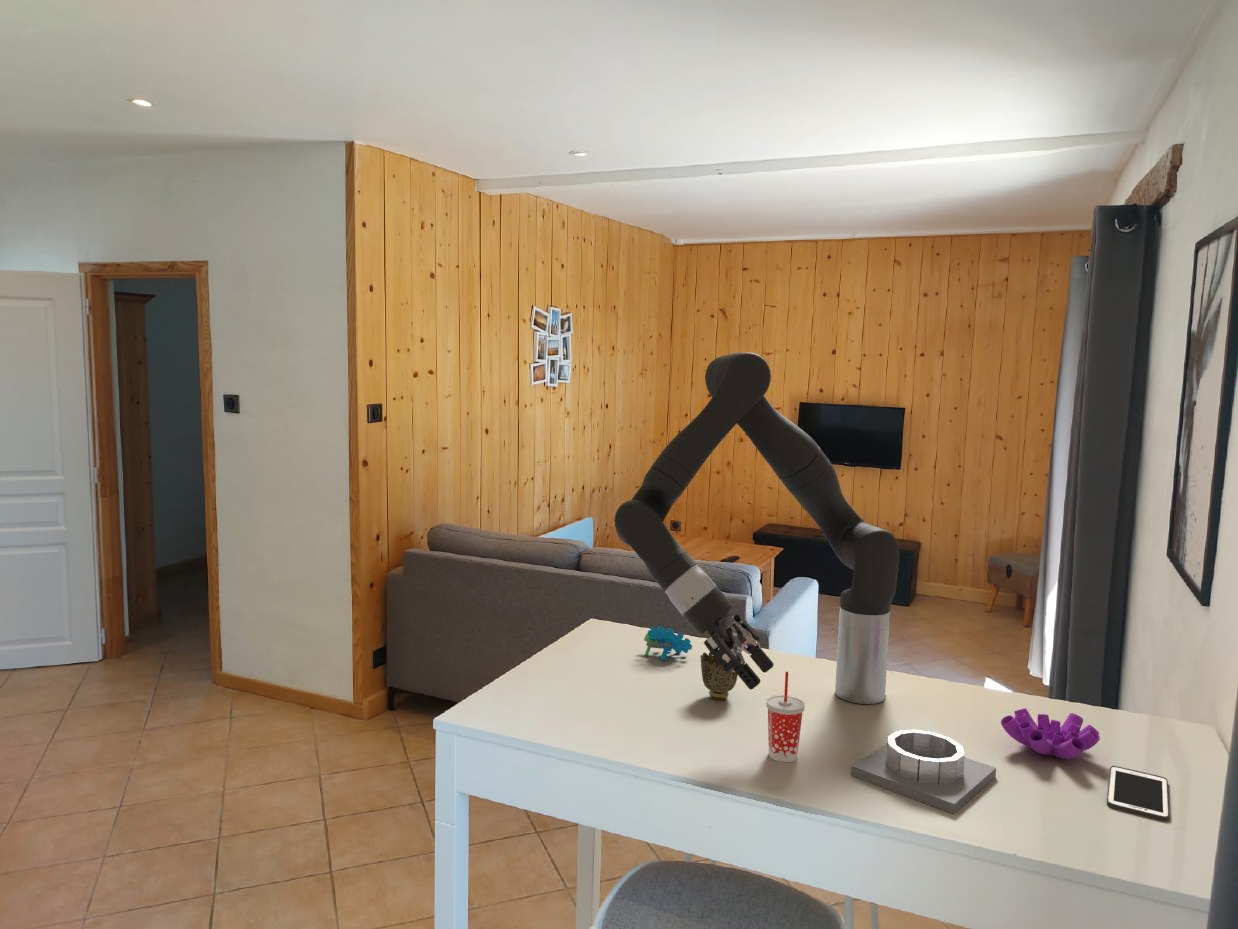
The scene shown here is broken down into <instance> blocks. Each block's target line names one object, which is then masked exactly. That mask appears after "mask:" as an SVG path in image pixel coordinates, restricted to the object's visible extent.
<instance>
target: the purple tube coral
mask: <svg viewBox="0 0 1238 929" xmlns="http://www.w3.org/2000/svg"><path fill="white" fill-rule="evenodd" d="M1013 713H1014V716H1013V715H1006V716H1004V717H1003V718H1002V719H1000V725H1001V727H1002V728H1003V730H1005V732H1006V733H1007V735H1009V737H1011V738H1012V739H1013V740H1015V741H1016V742H1018V743H1019V744H1021V745H1024V746H1025V747H1028V748H1030V749H1033V750H1034V751H1035V752H1036V753H1038V754H1041V755H1044V756H1045V755H1046V756H1053V757H1056V758H1061V759H1067V760H1072V759H1076V758H1078V757H1080V756H1081V755H1082V753H1083V752H1085V751H1088V750H1090V749H1091V748H1092V747H1094V746H1095V745H1097V744H1098V743H1099V742H1100V740H1101V736H1100V732H1099V731H1098V729H1096V728H1095V727H1093V725H1090V724H1088V725H1086V726H1085V727H1084V728H1082V726H1083V724H1084V718H1083V717H1081V716H1080V715H1078V714H1076V713H1073V712H1070V713H1069V715H1068V716H1067V717H1066V719H1065V721H1063V723H1062V725H1061V721H1060V720H1056V719H1051V720H1050V716H1049V714H1047V713H1045V714H1043V713H1038V714H1037V722H1035V720H1034V719H1033V717H1032V716H1031V714H1030V711H1028V709H1027V707H1025V708H1024V707H1023V708H1021V709H1018V710H1017V709H1016V710H1014V712H1013ZM1081 728H1082V729H1081Z"/></svg>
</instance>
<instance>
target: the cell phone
mask: <svg viewBox="0 0 1238 929" xmlns="http://www.w3.org/2000/svg"><path fill="white" fill-rule="evenodd" d="M1169 800H1170V797H1169V780H1168V779H1167V778H1166V777H1164V776H1161V775H1157V774H1156V775H1155V774H1153V773H1152V774H1151V773H1148V772H1143V771H1139V770H1134V769H1130V768H1125V767H1122V766H1117V765H1112V766H1110V768H1109V776H1108V786H1107V796H1106V806H1107V807H1108V808H1110V809H1113V810H1116V811H1121V812H1125V813H1128V814H1132V815H1136V816H1140V817H1145V818H1149V819H1153V820H1157V821H1161V822H1169V820H1170V801H1169Z"/></svg>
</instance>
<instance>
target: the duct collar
mask: <svg viewBox="0 0 1238 929" xmlns="http://www.w3.org/2000/svg"><path fill="white" fill-rule="evenodd" d="M886 739H887V741H886V743H887V755H886V760H887V766H888V767H889V768H890V769H892V770H893V771H894V772H895V773H897V774H898V775H900V776H903V777H905V778H908V779H911V780H914V781H916V782H917V781H918V782H922V783H929V784H937V785H938V784H939V785H940V784H948V783H955V782H957V781H958V780H959V779H960V778H962V777H963V773H964V759H965V758H966V756H965V755H966V752H965V750H964V748H963V745H962V744H961V743H959V742H957V741H955V740H954V739H952V738H951V737H949V736H946V735H943V734H940V733H936V732H933V731H930V730H929V731H927V730H919V729H905V730H897V731H894V732H893V733H891V734H889V735H887V738H886ZM911 753H915V754H923V755H930V756H933V757H936V758H939V759H934V758H926V757H919V756H916V755H914V754H911Z"/></svg>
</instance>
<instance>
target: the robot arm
mask: <svg viewBox="0 0 1238 929" xmlns="http://www.w3.org/2000/svg"><path fill="white" fill-rule="evenodd" d="M770 369H771V368H770V366H769V364H768V362H767V361H766V359H764V357H762V356H761V355H759V354H757V353H754V352H751V351H750V352H748V351H747V352H736V353H730V354H729V353H727V354H724V355H721V356H718V357H716V358H714V359H712V360H711V361H710V363H709V364H708V366H707V367H706V370H705V374H704V381H705V386H706V390H707V391H708V393H709V395H710V397H711V398H710V400H709V401H708V402H707V404H706V405H705V406H704V408H703V409H702V410H701V411H700V412H699V414H698V415H697V416H696V417H694V418H693V419H692V421H691V422H689V423H688V425H686V426H685V427H684V428H683V429H682V430H681V431H680V432H679V433H677V434H676V435H675V436H674V438H672V440H670V441H669V443H668V444H667V445H666V446H665V448H663V450H662V451H661V452H660V453H659V455H658V457H657V458H656V459H655V461H654V462H653V463H652V465H651V466H650V468H649V469H648V471H647V472H646V473H645V476H644V478H643V480H642V484H641V485H640V487H639V489H637V491H636V493H635V494H634V496H633V497H632V498H631V499H629V500H627V501H625V502H624V503H622V504H621V505H620V506H618V508H617V510H616V512H615V514H614V520H613V521H614V528H615V531H616V534H617V537H618V538H619V539H620V540H621V541H622V543H624V544H626V545H628V546H629V547H631V549H632V550H633V551H634V552H635V554H636V555H637V556H638V557H639V558H640V560H642V562H643V563H644V564H645V567H646V568H647V571H648V572H649V573H650V575H651V576H652V577H653V579H654V580H655V582H656V583H657V584H658V585H659V586H660V587H661V589H662V590H663V591H664V593H665V594H666V596H667V597H668V599H669V601H670V602H671V603H672V604H673V605H674V607H675V608H676V609H677V610H678V612H679V614H681V616H682V617H683V618H684V619H685V620H686V622H687V623H688V625H690V627H691V628H692V629H693V630H694V631H695V632H696V634H697V635H702V634H705V632H707V633H708V636H709V637H708V638H707V639H705V641H703V644H704V646H705V647H706V648H707V650H708V651H709V652H711V653H712V655H713V656H714V657H715V659H716V660H717V661H718V662H719V664H720V665H721V666H722V668H723V669H724V670H725V671H726V672H729V671H732V672H736V673H737V675H738V676H737V677H739V679H740V680H741V681H742V682H743V683H744V685H745V686H746V687H747V688H748V689H749V690H753V689H755V688H756V687H758V686H759V685H760V684H761V681H762V680H761V679H760V677H759V676H758V675H757V673H755V671H754V670H753V668H751V667H750V665H749V664H748V663H747V662H746V661H745V658H744V656H743V654H742V652H745V653H746V654H748V655H749V658H751V660H752V661H753V662H754V663H755V664H756V666H757V667H758V668H759V669H760V670H761V672H763V673H767V672H769V671H770V670H771V669H773V667H774V662H773V661H772V660H771V658H770V657H769V656H768V655H767V654H766V653H765V651H764V650H763V649H762V648H761V644H760V641H761V640H762V638H761V636H759V635H758V633H757V632H756V631H755V630H754V629H753V628H752V626H751V625H750V624H749V623H748V622H747V621H746V620H745V619H744V617H743V616H742V615H741V614H740V613H739V612H737V613H735V614H733V615H732V616H731V615H730V614H729V612H730V611H732V610H733V608H734V606H733V603H731V600H729V598H728V597H727V596H726V595H725V594H724V593H723V591H722V590H721V588H719V587H718V586H717V584H716V583H715V582H714V581H713V580H712V578H711V577H710V576H709V575H708V574H707V572H705V571H704V570H703V569H702V568H701V567H700V566H699V564H697V563H696V561H694V559H693V558H692V557H691V556H690V555H689V554H688V552H687V551H686V550H685V549H684V547H682V546H681V545H680V544H679V542H678V541H677V540H676V539H675V538H674V536H673V535H672V533H671V532H670V530H669V528H668V526H666V524H665V523H664V520H665V519H666V517H667V515H668V513H669V512H670V511H671V509H672V507H673V506H674V504H675V503H676V502H677V500H678V499H679V498H680V497H681V495H683V493H684V492H685V490H686V489H687V487H688V486H689V485H690V483H691V482H692V480H693V479H694V477H695V476H696V475H697V473H699V470H700V469H701V467H702V466H703V465H704V464H705V462H706V461H707V460H708V458H709V457H710V455H711V454H712V453H713V452H714V450H715V449H716V448H717V447H718V446H719V445H720V443H721V442H722V441H723V440H724V439H725V437H726V436H727V435H728V434H729V433H730V431H732V429H733V428H734V427H735V426H736V425H738V426H739V428H740V429H741V430H742V431H743V432H744V434H745V435H746V436H747V437H748V438H749V440H750V441H751V443H752V444H753V445H754V447H755V448H756V450H757V451H758V452H759V454H760V455H761V456H762V457H763V459H764V460H765V461H766V462H767V464H768V465H769V466H770V468H771V470H772V471H773V472H774V474H775V475H776V476H777V477H778V479H779V480H780V481H781V483H782V484H783V485H784V486H785V488H786V489H787V491H788V492H789V493H790V494H791V495H792V496H793V497H794V498H795V500H796V501H797V502H798V503H799V505H800V506H801V507H802V508H803V510H804V511H805V512H806V513H807V514H808V515H809V516H810V517H811V519H812V520H814V522H815V523H816V525H817V526H818V528H819V529H820V530H821V532H822V534H823V535H824V537H825V539H826V540H827V542H828V544H829V545H830V547H831V549H832V550H833V552H834V553H835V555H836V557H837V558H838V559H839V561H840V562H841V563H842V564H843V565H844V566H846V567H847V568H848V569H851V570H853V574H852V584H851V586H850V587H849V588H847V589H844V590H843V591H842V592H841V593H840V596H839V597H840V598H839V612H838V614H839V615H838V616H839V617H838V631H837V634H838V635H837V654H836V668H835V669H836V671H835V683H834V684H835V685H834V686H835V687H834V688H835V689H834V692H835V695H836V696H837V697H838V698H840V699H841V700H844V701H847V702H850V703H854V704H861V705H875V704H879V703H882V702H883V701H884V700H885V698H886V696H885V695H886V687H887V686H886V685H887V672H888V671H887V669H888V655H889V654H888V651H889V633H890V632H889V631H890V616H891V604H892V602H893V600H894V598H895V595H896V592H897V584H898V574H899V567H900V548H899V547H900V546H899V543H898V540H897V538H896V537H895V536H894V534H893V533H892V532H890V531H889V530H886V529H885V528H884V529H883V528H881V527H878V526H875V525H871V524H869V523H868V522H866V521H865V520H864V519H862V517H860V515H859V514H858V513H857V512H856V511H855V509H853V507H852V506H851V505H850V504H849V502H848V501H847V499H846V498H845V496H844V495H843V492H842V489H841V485H840V482H839V481H840V480H839V478H838V475H837V472H836V470H835V468H834V466H833V464H832V462H831V461H830V460H829V458H828V457H827V456H826V454H825V453H824V451H823V450H822V449H821V447H820V446H819V445H818V443H817V442H816V441H815V440H814V439H813V438H812V437H811V436H810V435H809V434H808V433H807V432H805V431H804V430H803V429H801V427H799V426H798V424H797V425H796V424H795V423H794V422H793V421H791V420H790V419H788V418H787V417H786V416H784V415H783V414H782V413H780V412H779V411H778V410H777V409H776V408H775V407H774V406H773V405H772V404H771V403H770V401H769V399H767V397H766V396H765V395H766V393H767V392H768V389H769V388H770V384H771V381H772V379H771V378H772V375H771V370H770ZM736 657H737V658H736ZM724 660H726V661H727V663H726V662H725V661H724Z"/></svg>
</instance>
